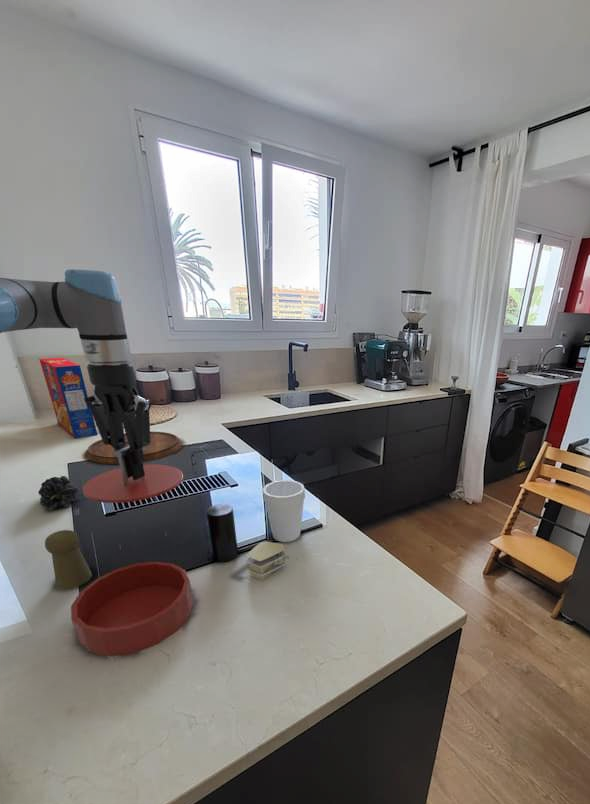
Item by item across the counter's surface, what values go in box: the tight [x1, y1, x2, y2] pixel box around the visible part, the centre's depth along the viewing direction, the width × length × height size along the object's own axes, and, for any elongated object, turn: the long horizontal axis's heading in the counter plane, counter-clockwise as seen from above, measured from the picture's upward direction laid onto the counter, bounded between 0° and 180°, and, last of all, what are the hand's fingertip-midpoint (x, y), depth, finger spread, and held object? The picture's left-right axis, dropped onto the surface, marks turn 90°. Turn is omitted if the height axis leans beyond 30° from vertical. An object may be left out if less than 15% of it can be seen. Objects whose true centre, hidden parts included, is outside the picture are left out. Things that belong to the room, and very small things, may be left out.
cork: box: [44, 529, 93, 590], centre depth 76 cm, size 6×6×11 cm
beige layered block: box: [245, 541, 286, 581], centre depth 81 cm, size 10×9×6 cm
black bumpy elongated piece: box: [37, 475, 79, 511], centre depth 106 cm, size 9×8×15 cm
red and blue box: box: [38, 357, 98, 440], centre depth 162 cm, size 28×8×28 cm, turn 46°
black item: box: [206, 503, 239, 563], centre depth 84 cm, size 5×5×12 cm
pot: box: [70, 561, 194, 657], centre depth 68 cm, size 18×18×6 cm
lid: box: [82, 445, 184, 504], centre depth 82 cm, size 19×19×9 cm
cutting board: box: [84, 431, 183, 465], centre depth 147 cm, size 32×32×3 cm
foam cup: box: [262, 479, 306, 543], centre depth 92 cm, size 10×9×13 cm
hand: (134, 476), depth 83 cm, fingers closed on lid, 1 cm apart
